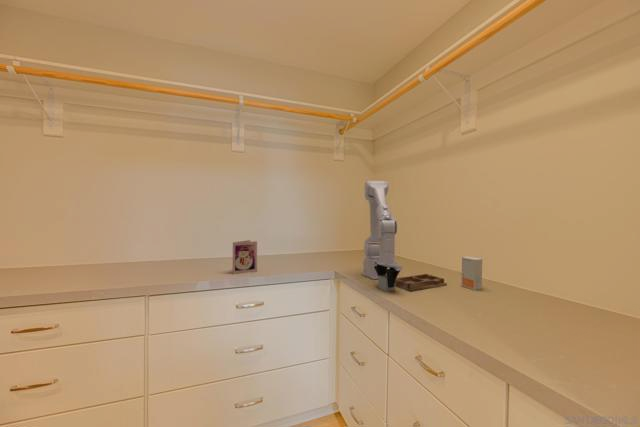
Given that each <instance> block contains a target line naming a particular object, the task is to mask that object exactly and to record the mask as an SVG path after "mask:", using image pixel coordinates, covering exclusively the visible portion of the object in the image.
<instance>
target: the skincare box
mask: <svg viewBox="0 0 640 427" xmlns="http://www.w3.org/2000/svg"><path fill="white" fill-rule="evenodd" d="M460 284H461V287H464V288H467V289H470V290H472V291H478V290H482V289H483V288H482V287H483V286H482V285H483V258H479V257H474V256H469V255H468V256H462V257H461V283H460Z"/></svg>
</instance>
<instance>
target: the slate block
mask: <svg viewBox="0 0 640 427" xmlns="http://www.w3.org/2000/svg"><path fill="white" fill-rule="evenodd" d="M377 282H378V283H377V289H379V290H381V291H383V292H390V291H395V290H396V286H395V284H394V287H392V288H389V287H388V278H387V274H386V275H379V276H378V279H377Z"/></svg>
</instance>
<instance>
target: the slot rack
mask: <svg viewBox="0 0 640 427" xmlns="http://www.w3.org/2000/svg"><path fill="white" fill-rule="evenodd" d="M447 285H448V283H447V282H445V278H443V277H439V276H436V275H432V274H429V273H422V274H417V275H410V276H409V275H407V276H402V277H397V278H396V280H395V287H397V288H400V289H402V290H404V291H407V292H409V293H412V292H417V291H423V290H429V289H434V288H439V287H444V286H447Z"/></svg>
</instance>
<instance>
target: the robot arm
mask: <svg viewBox="0 0 640 427" xmlns="http://www.w3.org/2000/svg"><path fill="white" fill-rule="evenodd" d="M388 192H389V182H388V181H387V180H366V181H365V184H364V197H365V200H367V202H368V205H369V225H370V226H369V228H370V230H369V231H370V235H369V236H368V237H367V238H365V240H364V246H363V247H364V248H363V251H364V256H365V257H364V259H363V264H362V266H363V267H362V268H363V272H362V273H361V275H363V276H365V277H367V278H371V279H373V280H378V276H379V275H387V278H388V287H389V288H392V287H394V284H395V280H396V278H398V275H399V274H400V272H401V271H403V265H402V264H399V263H397V262H396V261H395V255H396V254H395V253H396V252H395V247H396V242H395V241H396V240H395V239H396V234H397V232H398V224H397V220H396V219H395V217H393V214H392V211H391V207H390V206H389V205H387V198H386V197H387V194H388Z"/></svg>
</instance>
